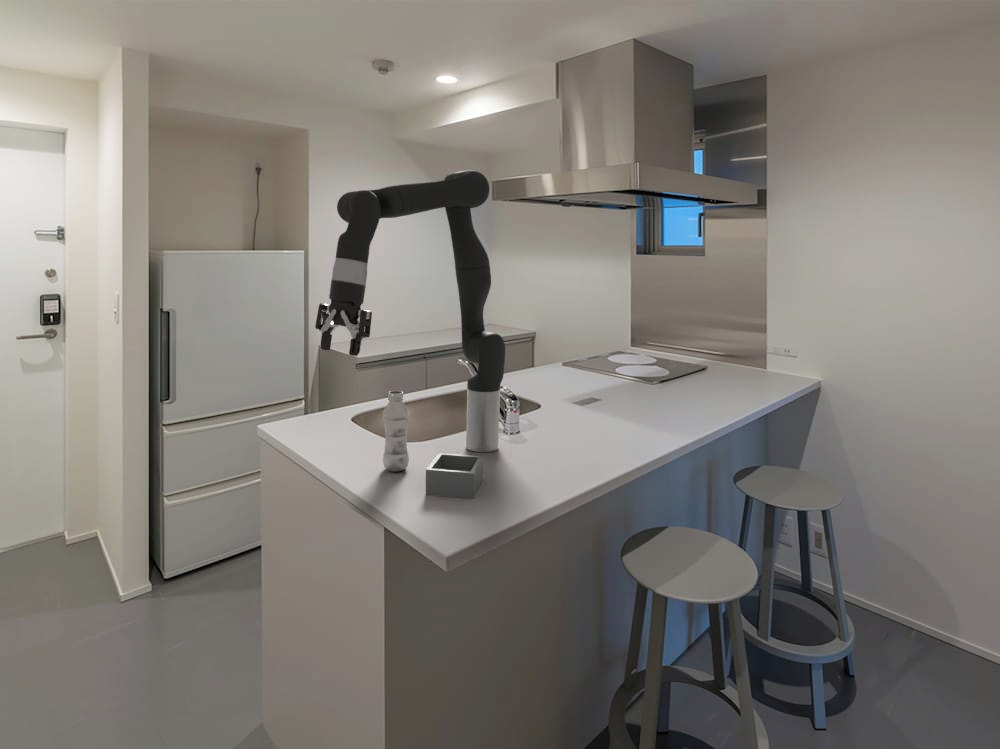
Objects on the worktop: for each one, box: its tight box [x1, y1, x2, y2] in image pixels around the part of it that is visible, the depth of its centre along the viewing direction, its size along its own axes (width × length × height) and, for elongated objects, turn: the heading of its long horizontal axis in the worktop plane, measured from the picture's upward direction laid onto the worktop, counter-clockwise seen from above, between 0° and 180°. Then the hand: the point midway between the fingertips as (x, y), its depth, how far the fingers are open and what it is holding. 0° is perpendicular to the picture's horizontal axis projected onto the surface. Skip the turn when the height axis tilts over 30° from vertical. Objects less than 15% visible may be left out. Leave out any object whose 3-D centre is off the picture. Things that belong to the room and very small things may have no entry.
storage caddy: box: [425, 452, 484, 500], centre depth 138 cm, size 12×11×6 cm
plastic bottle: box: [382, 390, 410, 472], centre depth 147 cm, size 6×7×20 cm
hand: (339, 352), depth 134 cm, fingers open, 8 cm apart
